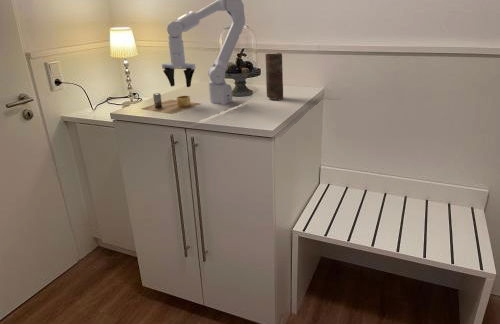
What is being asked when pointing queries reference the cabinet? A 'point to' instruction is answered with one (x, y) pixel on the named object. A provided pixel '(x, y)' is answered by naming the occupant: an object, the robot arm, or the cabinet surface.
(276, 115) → the cabinet surface
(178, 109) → the walnut board
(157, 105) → the steel piston
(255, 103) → the cabinet surface
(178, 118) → the cabinet surface
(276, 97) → the candle
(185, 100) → the wooden barrel ring
